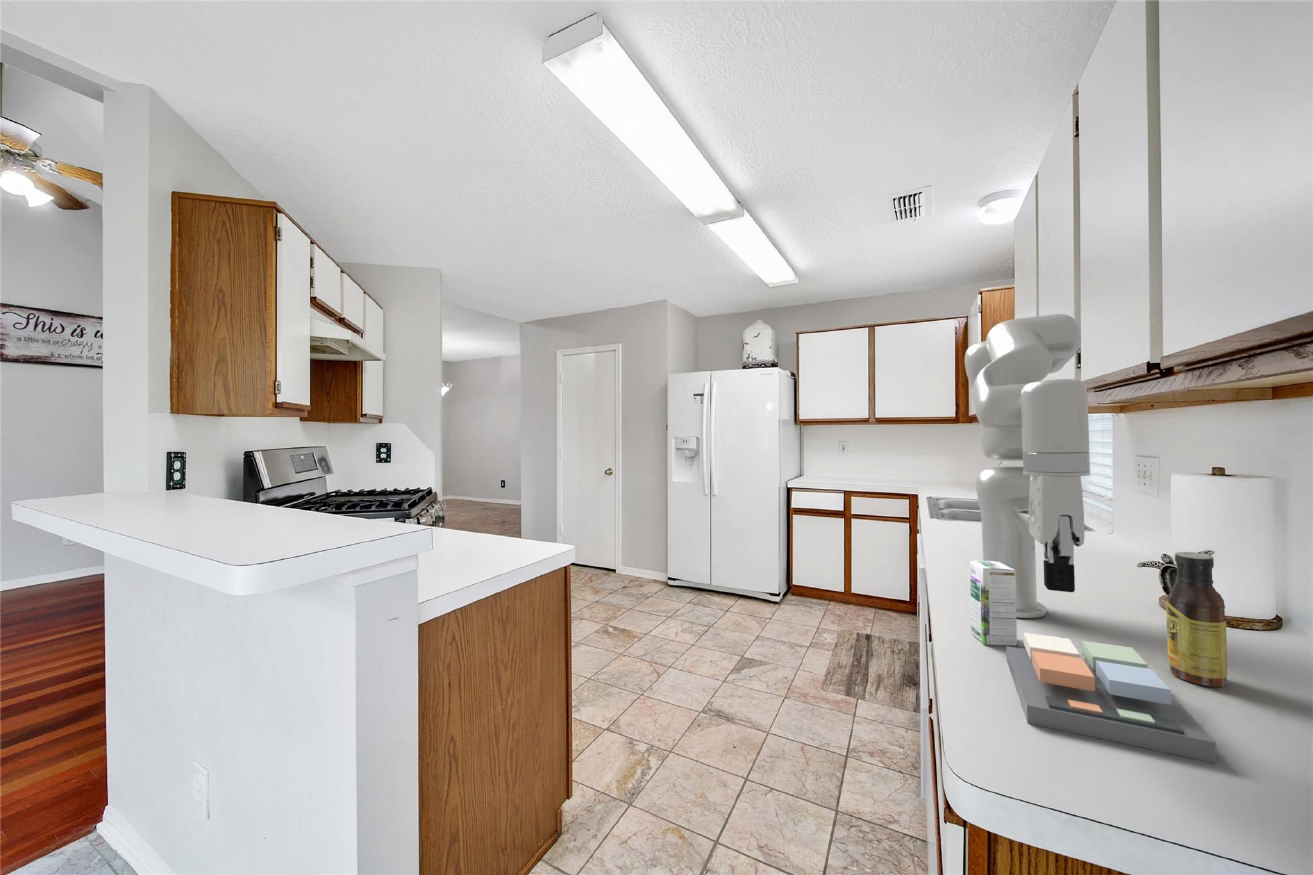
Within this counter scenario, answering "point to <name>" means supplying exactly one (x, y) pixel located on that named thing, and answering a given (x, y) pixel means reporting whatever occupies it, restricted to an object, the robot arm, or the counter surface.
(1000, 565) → the syrup box
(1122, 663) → the sage key
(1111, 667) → the blue key
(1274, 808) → the counter surface
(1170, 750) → the keypad
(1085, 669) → the terracotta key
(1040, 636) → the cream key
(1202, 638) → the sauce bottle
